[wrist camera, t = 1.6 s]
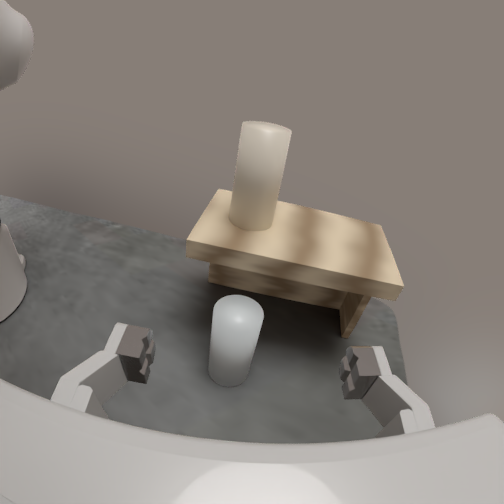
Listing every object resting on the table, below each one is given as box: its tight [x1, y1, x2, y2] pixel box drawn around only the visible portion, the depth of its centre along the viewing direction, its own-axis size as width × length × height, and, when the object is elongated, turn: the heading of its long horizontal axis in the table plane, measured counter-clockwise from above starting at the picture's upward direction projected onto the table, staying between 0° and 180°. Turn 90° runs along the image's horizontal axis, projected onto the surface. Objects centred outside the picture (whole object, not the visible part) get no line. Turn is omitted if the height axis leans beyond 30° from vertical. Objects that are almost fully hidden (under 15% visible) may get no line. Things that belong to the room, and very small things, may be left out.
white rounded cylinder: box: [229, 121, 292, 231], centre depth 29 cm, size 5×5×10 cm
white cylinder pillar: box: [208, 295, 264, 387], centre depth 30 cm, size 5×5×10 cm
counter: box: [186, 189, 404, 338], centre depth 36 cm, size 21×12×14 cm, turn 81°
